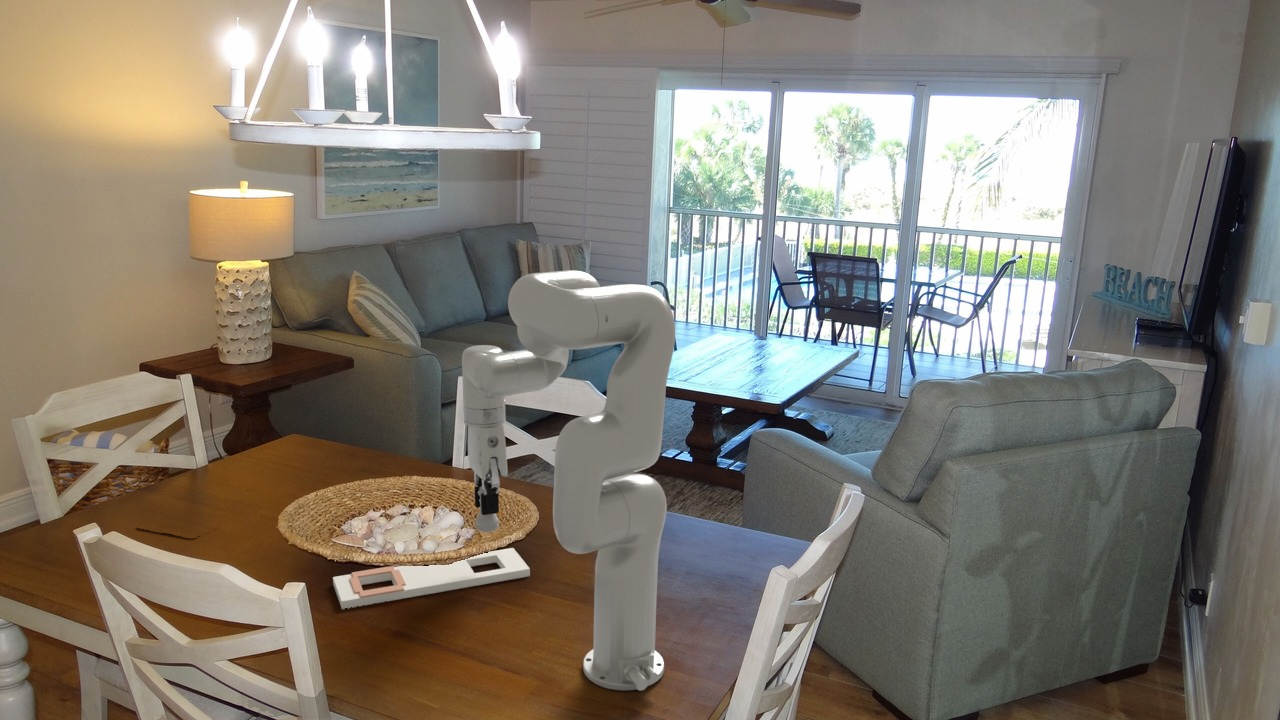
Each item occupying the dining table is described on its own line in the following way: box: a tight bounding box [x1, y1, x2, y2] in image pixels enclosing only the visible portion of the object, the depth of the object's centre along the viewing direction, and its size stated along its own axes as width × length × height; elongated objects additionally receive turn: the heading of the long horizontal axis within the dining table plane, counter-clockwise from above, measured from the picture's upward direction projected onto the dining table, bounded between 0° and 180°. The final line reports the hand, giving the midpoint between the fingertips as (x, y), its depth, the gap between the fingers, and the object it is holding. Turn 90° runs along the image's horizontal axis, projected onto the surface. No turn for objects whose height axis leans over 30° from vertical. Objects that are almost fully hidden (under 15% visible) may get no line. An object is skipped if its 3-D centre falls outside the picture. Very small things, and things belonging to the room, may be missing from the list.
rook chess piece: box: [475, 486, 500, 533], centre depth 180 cm, size 4×4×8 cm
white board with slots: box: [332, 547, 531, 610], centre depth 179 cm, size 10×34×2 cm, turn 115°
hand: (486, 508), depth 180 cm, fingers closed on rook chess piece, 3 cm apart
